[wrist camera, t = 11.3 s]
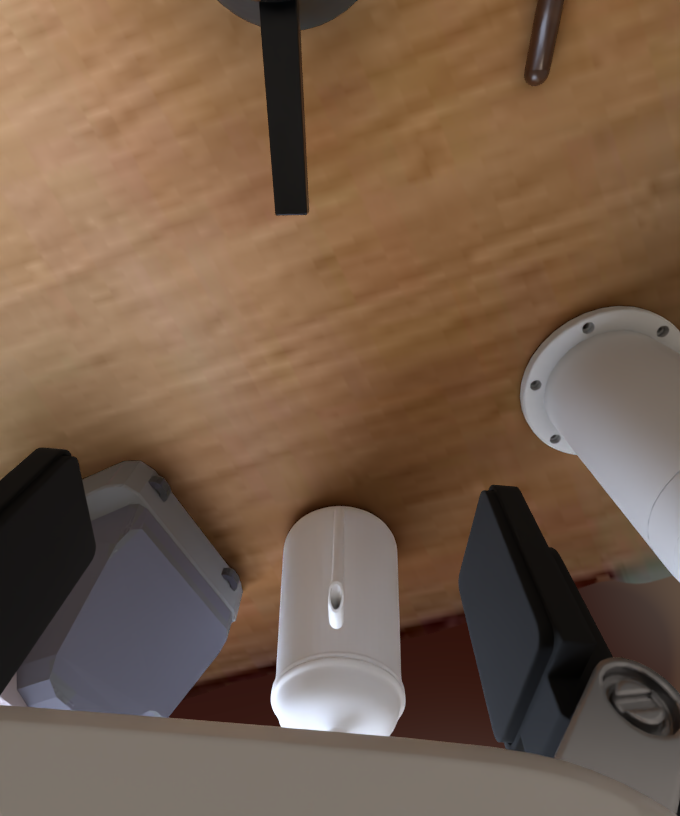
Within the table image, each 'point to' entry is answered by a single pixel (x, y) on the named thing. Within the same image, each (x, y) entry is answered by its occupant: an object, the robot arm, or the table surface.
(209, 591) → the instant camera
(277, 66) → the saucepan
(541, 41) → the spatula
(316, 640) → the coffeepot
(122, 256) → the table surface
